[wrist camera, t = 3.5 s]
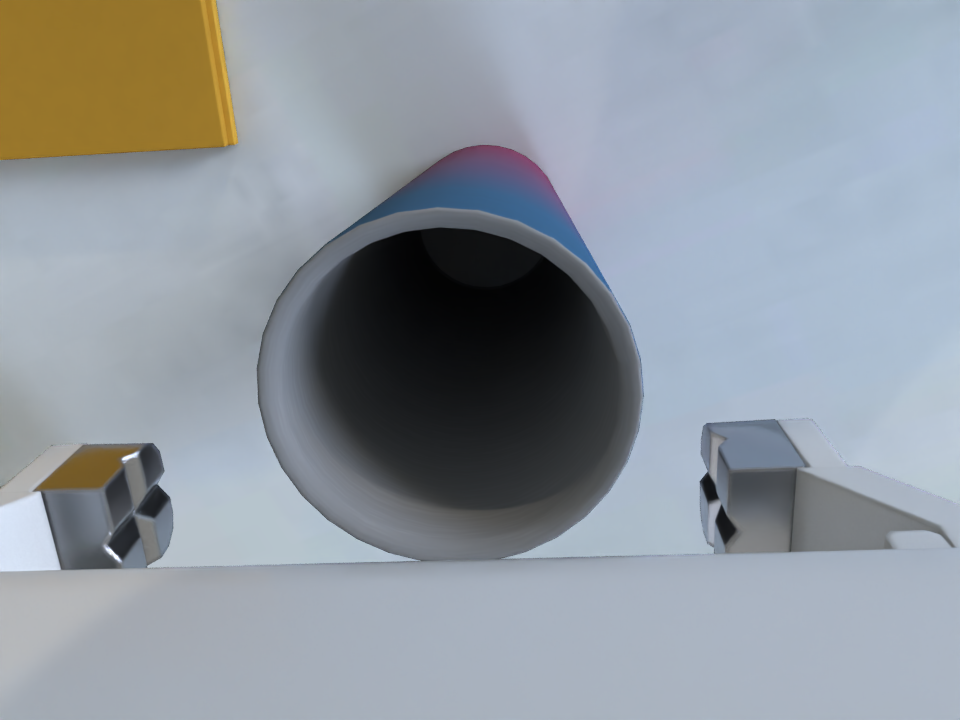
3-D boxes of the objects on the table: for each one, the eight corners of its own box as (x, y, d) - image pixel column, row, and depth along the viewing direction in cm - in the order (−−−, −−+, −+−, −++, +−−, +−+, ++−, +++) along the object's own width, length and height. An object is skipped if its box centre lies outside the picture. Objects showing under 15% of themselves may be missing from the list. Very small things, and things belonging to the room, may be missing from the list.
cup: (414, 335, 31) (321, 592, 17) (360, 144, 29) (200, 258, 15) (604, 294, 30) (673, 530, 16) (564, 93, 28) (603, 163, 14)
